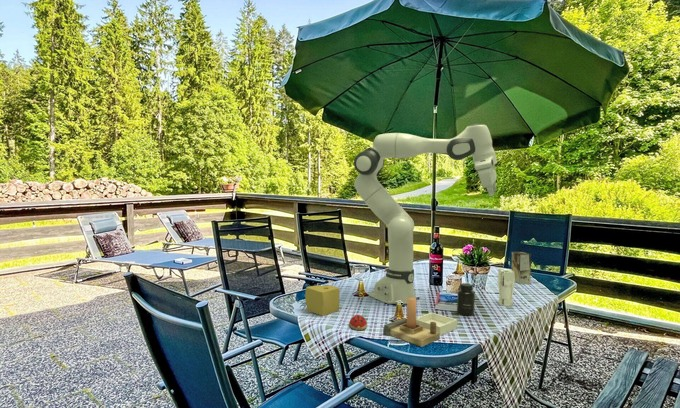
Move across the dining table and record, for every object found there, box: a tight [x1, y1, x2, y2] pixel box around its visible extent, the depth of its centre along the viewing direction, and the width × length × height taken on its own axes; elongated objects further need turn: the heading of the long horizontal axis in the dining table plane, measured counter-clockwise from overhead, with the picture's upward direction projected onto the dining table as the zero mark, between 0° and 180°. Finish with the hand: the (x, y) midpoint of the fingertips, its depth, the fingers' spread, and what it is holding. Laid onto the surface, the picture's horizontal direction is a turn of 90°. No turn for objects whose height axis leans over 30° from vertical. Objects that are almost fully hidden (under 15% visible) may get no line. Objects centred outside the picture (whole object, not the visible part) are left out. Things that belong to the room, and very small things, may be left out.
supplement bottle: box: [456, 282, 476, 317], centre depth 159 cm, size 7×7×12 cm
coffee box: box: [510, 251, 532, 285], centre depth 212 cm, size 9×6×16 cm
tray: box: [416, 311, 458, 337], centre depth 143 cm, size 11×11×3 cm
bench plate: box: [382, 317, 440, 348], centre depth 135 cm, size 16×12×6 cm
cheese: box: [304, 284, 340, 317], centre depth 161 cm, size 10×11×10 cm
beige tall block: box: [497, 268, 516, 307], centre depth 172 cm, size 7×7×15 cm
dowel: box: [406, 297, 418, 329], centre depth 135 cm, size 3×3×11 cm
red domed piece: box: [348, 314, 368, 331], centre depth 144 cm, size 7×10×4 cm
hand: (493, 193), depth 162 cm, fingers open, 8 cm apart
